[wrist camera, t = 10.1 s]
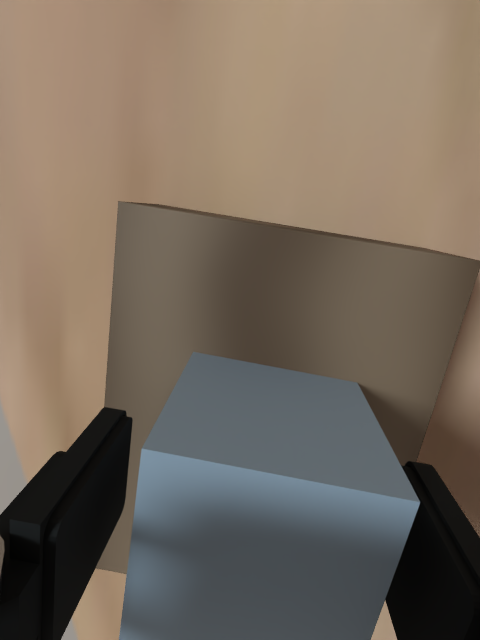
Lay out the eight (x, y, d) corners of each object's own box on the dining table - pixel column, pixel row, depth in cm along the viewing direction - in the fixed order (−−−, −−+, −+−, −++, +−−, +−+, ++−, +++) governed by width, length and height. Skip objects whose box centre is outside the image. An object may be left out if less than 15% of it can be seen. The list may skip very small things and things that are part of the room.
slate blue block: (357, 382, 12) (420, 502, 7) (319, 517, 13) (349, 696, 8) (193, 351, 12) (141, 448, 7) (172, 489, 13) (118, 649, 8)
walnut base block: (424, 248, 14) (482, 261, 10) (343, 531, 18) (364, 618, 14) (157, 204, 15) (118, 201, 11) (130, 492, 18) (93, 567, 14)
